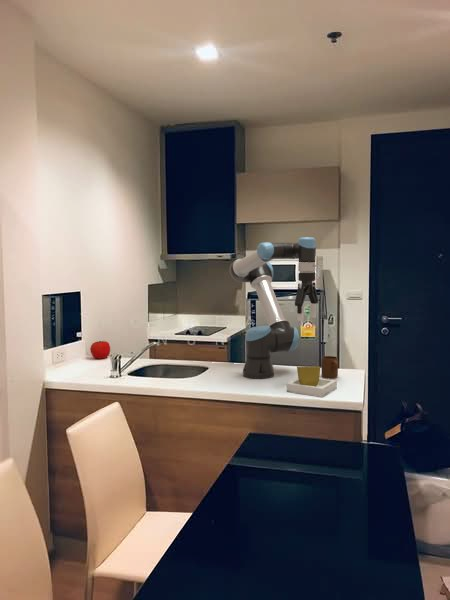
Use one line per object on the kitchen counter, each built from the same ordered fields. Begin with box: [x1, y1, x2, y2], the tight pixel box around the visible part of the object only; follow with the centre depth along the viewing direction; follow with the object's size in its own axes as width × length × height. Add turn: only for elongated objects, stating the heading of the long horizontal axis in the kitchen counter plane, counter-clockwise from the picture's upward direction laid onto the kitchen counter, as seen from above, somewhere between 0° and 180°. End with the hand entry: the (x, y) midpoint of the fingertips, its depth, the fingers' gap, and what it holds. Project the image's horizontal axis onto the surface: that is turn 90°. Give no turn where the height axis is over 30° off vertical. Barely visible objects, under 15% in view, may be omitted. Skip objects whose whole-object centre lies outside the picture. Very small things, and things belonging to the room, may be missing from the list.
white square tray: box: [286, 377, 338, 398], centre depth 216 cm, size 16×16×4 cm
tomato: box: [89, 340, 111, 360], centre depth 289 cm, size 11×13×10 cm
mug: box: [320, 355, 339, 380], centre depth 237 cm, size 12×8×9 cm, turn 13°
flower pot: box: [296, 366, 321, 387], centre depth 215 cm, size 9×9×9 cm
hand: (306, 319), depth 228 cm, fingers open, 13 cm apart
